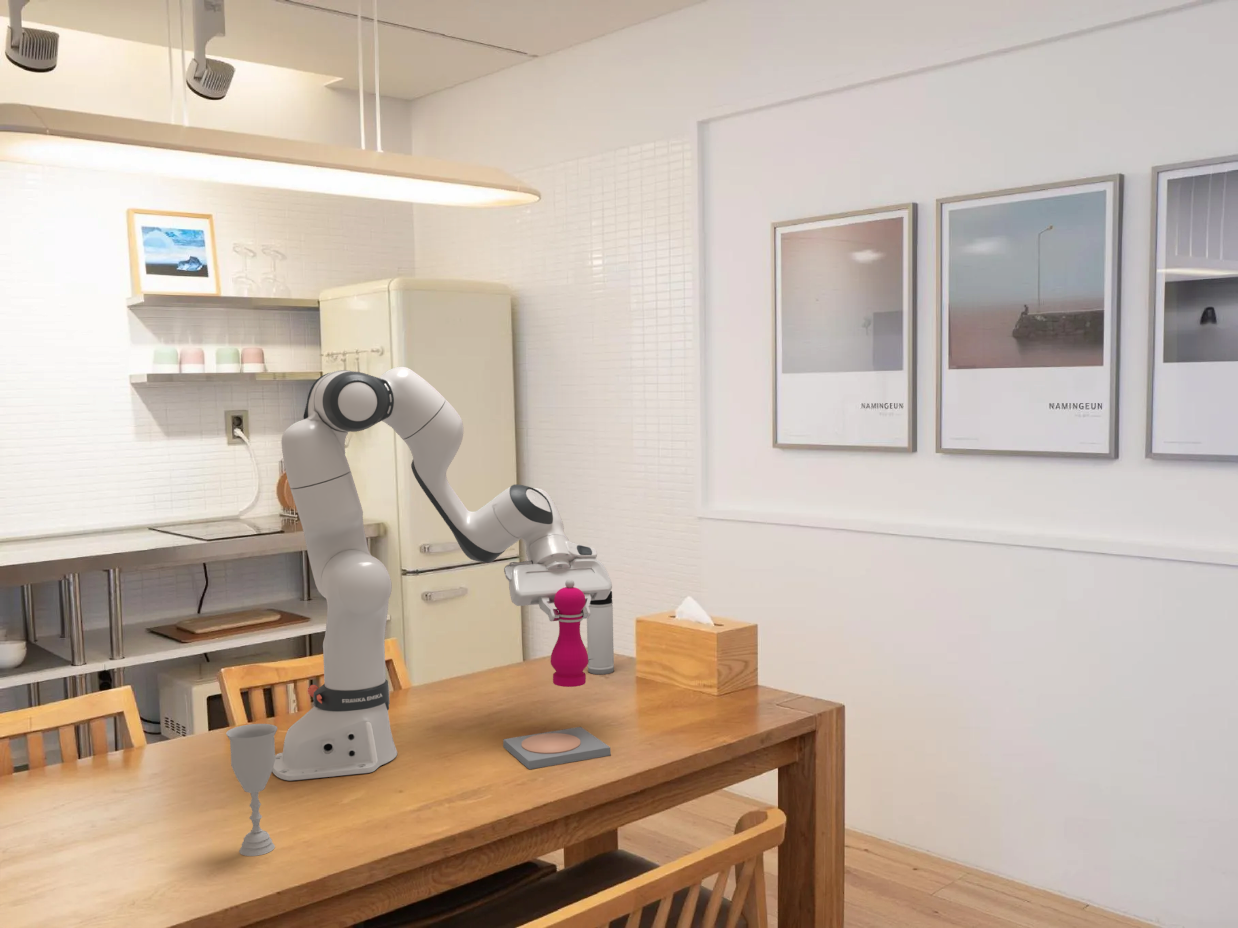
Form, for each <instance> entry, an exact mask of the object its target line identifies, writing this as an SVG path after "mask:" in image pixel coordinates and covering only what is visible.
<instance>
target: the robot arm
mask: <svg viewBox="0 0 1238 928" xmlns="http://www.w3.org/2000/svg"><path fill="white" fill-rule="evenodd" d="M302 418H303V419H302V420H299V421H296V422H294V423H292V424H291V425H290V426H288V427H287V428H286V429H285V430H284V432H283V433H282V436H281V442H280V443H281V451H282V452H281V454H282V460H283V465H284V471H285V474H286V478H287V482H288V486H289V488H290V492H291V495H292V499H293V502H294V505H295V507H296V512H297V515H298V519H299V521H300V525H301V527H302V532H303V536H304V541H305V547H306V551H307V556H308V560H309V565H310V568H311V572H312V577H313V579H314V583H315V587H316V589H317V591H318V593H319V594H320V595H321V596H322V597H324V599H326V604H327V609H326V612H327V613H326V625H325V632H324V639H323V642H322V648H323V649H322V650H323V651H322V652H323V676H324V677H323V678H324V679H323V680H324V683H323V684H322V685H320V687H318V685H317V684H311V685H309V687H307V694H308V695H309V696H310V697H311V698H313V707H312V708H310V710H308V711H307V712H306V713H305V714H304V715H303V716H302V717H300V718H299V719H298V720H297V721H296V722H294V723H293V724H292V725H291V726H290V727H289V728H288V730H287V732H286V733H285V736H284V741H283V748H282V749H283V750H282V752H279V753H277V754H275V762H274V766H273V769H272V772H271V773H273V775H274V776H276V777H277V778H278V779H281V780H284V781H301V780H311V779H319V778H328V777H329V778H331V777H339V776H351V775H359V774H361V775H362V774H369V773H372V772H374V771H376V770H377V769H378V768H379V767H381V766H382V765H385V764H388V763H389V762H391V761H393V760H394V759H395V758H397V756H398V750H397V748H396V744H395V742H394V738H393V737H394V736H393V734H392V729H391V723H390V717H389V710H390V686H389V681H388V679H387V678H386V659H385V658H386V655H385V652H386V648H385V641H386V640H385V638H386V628H387V621H388V613H389V612H388V611H389V604H390V603H389V601H390V597H391V595H392V580H391V576H390V573H389V571H388V569H387V567H386V566H385V564H384V563H383V562H382V561H381V560H379V559H378V558H376V557H375V556H373V555H372V554H371V552H370V550H369V546H368V543H367V538H366V533H365V532H366V531H365V525H364V511H363V507H362V504H361V500H360V497H359V494H358V491H357V488H356V487H357V486H356V484H355V479H354V478H353V474H352V470H351V467H350V465H349V461H348V458H347V456H346V447H345V445H346V439H347V435H348V434H349V433H351V432H353V433H355V432H361V431H364V430H367V429H370V428H371V427H373V426H375V425H376V424H378V423H380V422H383V423H385V424H386V425H387V426H389V427H391V429H393V431H394V432H395V433H396V434H397V435H398V436H399V437H400V438H401V439H402V440H403V441H404V443H406V445H407V447H408V448H409V451H410V453H411V456H412V461H411V464H410V466H411V471H412V473H413V477H414V478H415V479H416V482H417V483H418V485H419V486H420V488H421V489H422V491H423V492H424V493H425V496H427V498H428V500H429V501H430V502H431V504H432V505H433V507H434V508H435V510H436V511H437V512H438V513H439V515H440V517H441V518H442V519H443V521H444V522H445V523H446V525H447V526H448V527H449V529H450V531H451V532H452V534H453V536H454V538H455V540H456V542H457V544H458V546H459V547H460V549H461V551H462V552H463V553H464V555H465V556H466V557H467V558H469V559H470V560H472V561H475V562H480V563H487V564H488V563H492V562H494V561H495V560H497V558H499V557H500V556H502V554H503V553H504V552H506V550H508V549H509V548H510V547H512V546H513V545H514V544H516V543H518V542H519V541H520V540H522V541H523V543H524V544H525V553H526V556H527V559H528V560H526V561H525V560H524V561H511V562H509V564H507V565H505V566H504V568H503V572H504V576H505V579H506V580H507V581H508V588H509V596H510V600H511V602H512V604H514V605H515V606H516V607H521V606H522V607H523V606H524V607H525V606H535V605H538V606H539V609H540V610H541V611H542V612H543V613H545V614H546V615H547V616H548V620H549V622H557V621H558V619H559V613H558V609H557V608H553V606H551V604H554V597H555V594H556V593H557V592H558V591H559V590H560V589H562V588H565V587H566V585H565V582H566V580H568V579H572V580H573V581H574V587H575V588H578V589H580V590H581V591H582V592H583V593H584V595H585V606H584V608H583V609H582V610H581V612H582V613H583V615H582V618H583V620H585V619H586V620H587V618H589V617H590V614H591V613H590V610H589V605H590V601H591V600H604V599H606V598H607V597H608V595H609V594H610V592H611V591H612V589H613V584H612V580H611V577H610V576H609V573H608V571H607V568H606V567H605V565H604V563H602V561H601V560H599V559H598V558H597V557H598V552H597V549H596V548H595V547H592V546H588V545H583V544H580V543H579V544H578V543H575V542H573V541H570V540H569V538H568V537H567V535H566V534H565V532H564V529H565V527H564V522H563V521H562V517H561V515H560V512H559V510H558V508H557V506H556V504H555V502H554V500H553V499H552V497H551V495H550V494H549V493H548V492H547V491H545V489H541V488H540V487H539V488H537V487H532V486H528V485H524V484H519V483H518V484H512V485H511V486H509V487H507V488H506V489H504V490H503V491H501V492H500V493H498V494H497V495H496V496H495V497H493V498H492V499H491V500H490V501H488V502H487V503H485V504H484V505H483V506H481V507H480V508H479V509H477V510H475V511H471V510H468V508H467V507H466V505H465V504H464V503H463V502H462V500H461V498H460V497H459V496H458V494H457V493H456V491H455V490H454V488H453V487H452V486H451V484H450V483H449V481H448V478H447V471H448V469H449V468H450V465H451V464H452V462H453V460H454V459H455V457H456V455H457V453H458V452H459V450H460V447H461V445H462V442H463V437H464V433H465V431H464V423H463V419H462V417H461V416H460V414H459V412H458V411H457V410H456V409H455V407H454V406H453V405H452V404H451V403H450V402H449V401H448V400H447V399H446V397H445V396H443V395H442V394H441V393H440V391H438V390H437V389H436V388H435V387H434V386H433V385H432V384H430V383H429V381H427V380H426V379H425V378H424V377H422V376H420V375H419V374H418V373H417V372H415V371H414V370H412V369H410V368H409V367H406V366H397V367H393V368H390V369H389V370H386V371H385V372H384V373H382V374H381V375H380V376H379V377H377V376H373V375H370V374H368V373H364V372H360V371H353V370H348V369H347V370H346V369H343V370H341V369H340V370H336V371H335V370H334V371H332V372H328V373H325V374H323V375H321V376H320V377H318V378H317V379H316V380H315V381H314V383H313V384H312V386H311V387H310V390H309V392H308V396H307V400H306V404H305V408H304V413H303V417H302ZM558 622H559V621H558Z"/></svg>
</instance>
